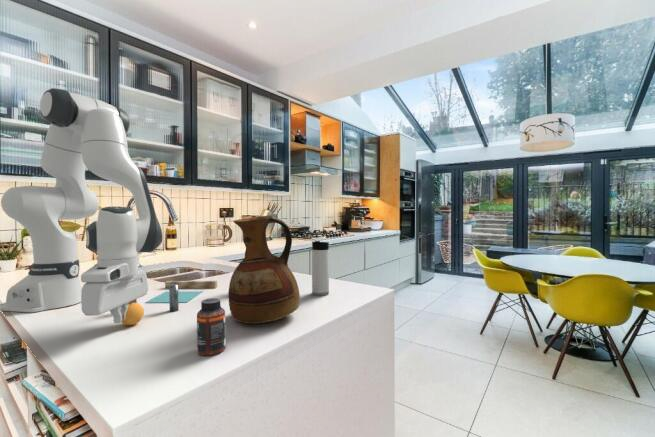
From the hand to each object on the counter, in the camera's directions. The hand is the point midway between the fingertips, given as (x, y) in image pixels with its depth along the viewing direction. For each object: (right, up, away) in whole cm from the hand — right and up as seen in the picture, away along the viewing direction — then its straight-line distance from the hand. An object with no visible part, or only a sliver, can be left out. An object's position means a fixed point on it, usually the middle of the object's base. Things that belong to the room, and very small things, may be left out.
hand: (119, 321), depth 81 cm
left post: (-7, -2, +16) cm, 17 cm away
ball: (0, +1, +4) cm, 4 cm away
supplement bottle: (+28, -3, -12) cm, 31 cm away
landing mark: (-1, -1, +31) cm, 31 cm away
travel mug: (+51, -1, +35) cm, 62 cm away
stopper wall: (-1, -1, +44) cm, 44 cm away
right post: (+6, -2, +16) cm, 17 cm away
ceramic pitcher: (+36, -2, +9) cm, 37 cm away
